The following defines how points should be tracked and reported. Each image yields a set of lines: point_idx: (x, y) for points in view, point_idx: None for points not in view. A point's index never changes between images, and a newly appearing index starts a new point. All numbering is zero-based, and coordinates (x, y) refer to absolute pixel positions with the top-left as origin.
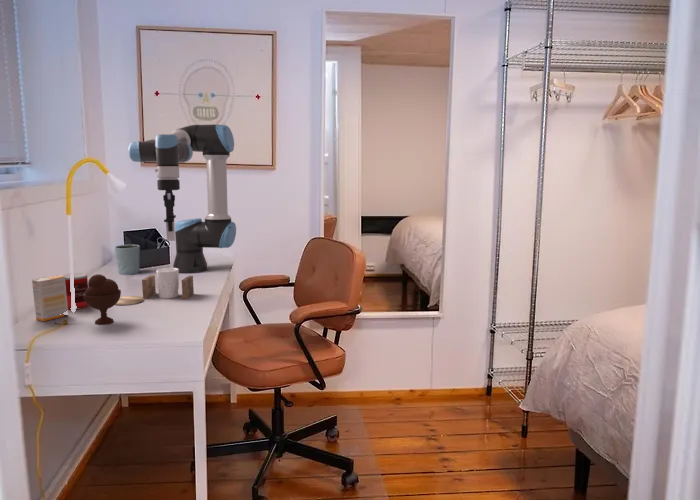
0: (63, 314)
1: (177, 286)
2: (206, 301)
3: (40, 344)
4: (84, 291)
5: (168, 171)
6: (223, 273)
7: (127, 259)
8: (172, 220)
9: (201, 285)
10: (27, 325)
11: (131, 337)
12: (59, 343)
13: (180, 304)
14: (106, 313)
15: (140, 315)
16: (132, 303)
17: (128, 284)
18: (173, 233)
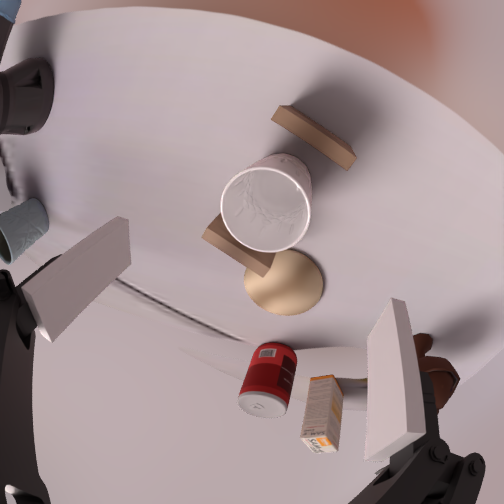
0: (335, 381)
1: (298, 165)
2: (407, 106)
3: None
4: (288, 375)
5: None
6: (80, 14)
7: (26, 235)
8: (471, 459)
9: (182, 63)
10: (348, 405)
11: None
12: (457, 386)
13: (398, 183)
14: (424, 354)
15: (427, 290)
16: (322, 283)
17: None
18: (408, 348)
